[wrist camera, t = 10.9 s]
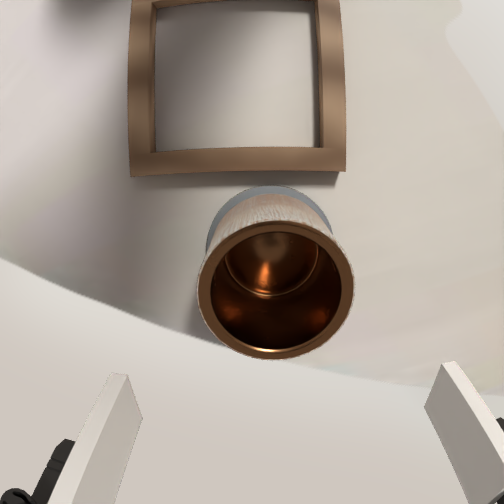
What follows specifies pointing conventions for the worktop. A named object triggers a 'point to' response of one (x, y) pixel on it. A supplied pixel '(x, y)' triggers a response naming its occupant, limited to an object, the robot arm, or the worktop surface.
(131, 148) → the holder frame
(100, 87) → the worktop surface
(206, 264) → the planter
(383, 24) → the worktop surface
